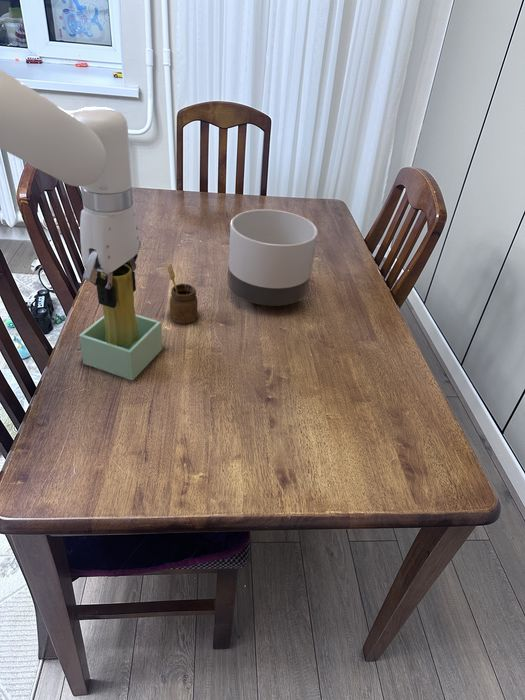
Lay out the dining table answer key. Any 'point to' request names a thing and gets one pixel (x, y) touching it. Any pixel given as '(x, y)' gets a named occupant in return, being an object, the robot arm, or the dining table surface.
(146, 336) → the bin
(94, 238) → the robot arm
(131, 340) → the vase
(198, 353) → the dining table surface
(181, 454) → the dining table surface
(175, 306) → the utensil holder
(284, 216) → the planter
